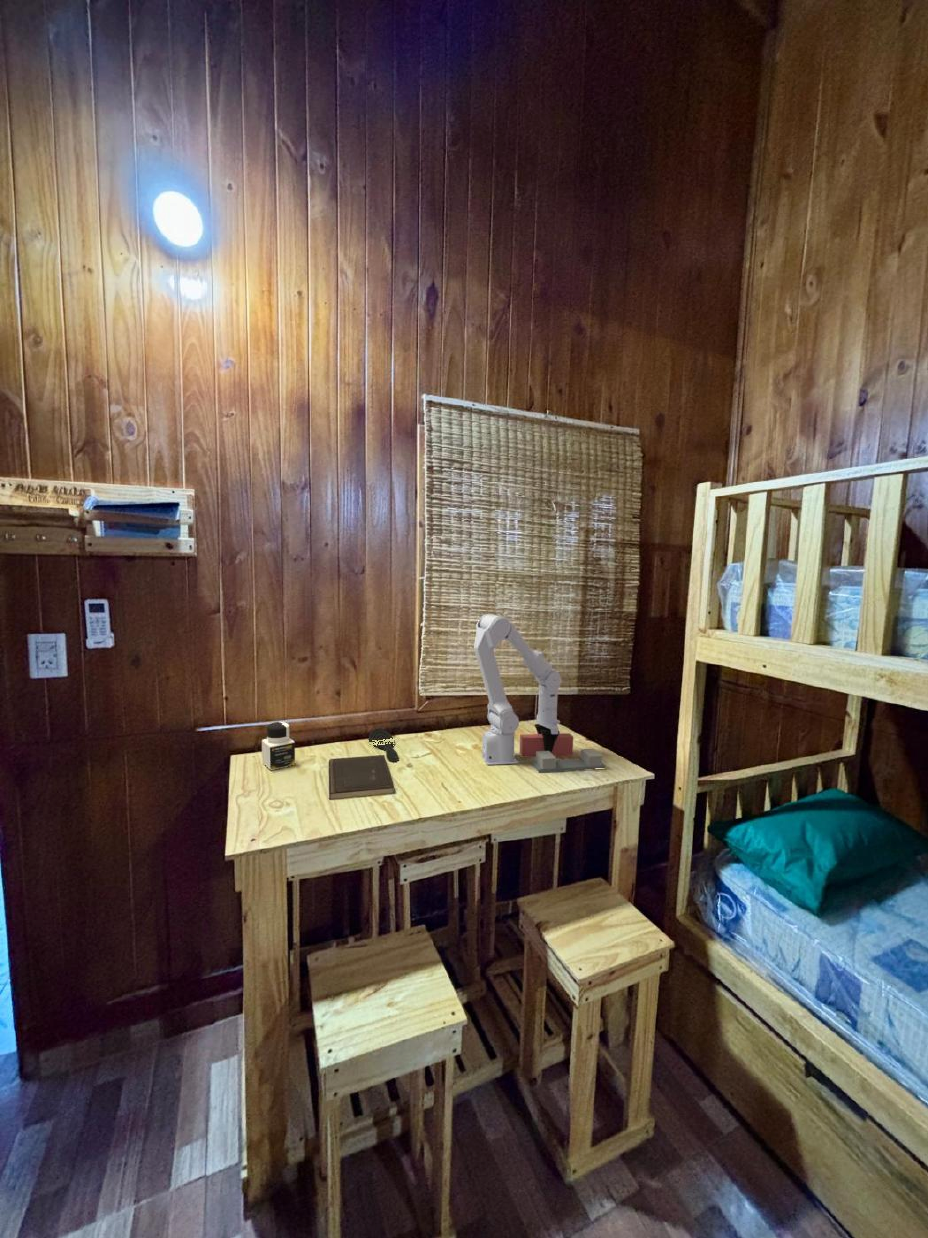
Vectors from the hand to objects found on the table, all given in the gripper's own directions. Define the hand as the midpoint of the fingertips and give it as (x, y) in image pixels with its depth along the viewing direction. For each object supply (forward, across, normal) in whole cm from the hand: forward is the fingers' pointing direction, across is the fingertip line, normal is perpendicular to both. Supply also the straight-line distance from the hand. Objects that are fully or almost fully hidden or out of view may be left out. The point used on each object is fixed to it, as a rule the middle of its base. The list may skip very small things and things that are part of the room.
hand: (546, 749), depth 160 cm
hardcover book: (+2, -11, +57) cm, 58 cm away
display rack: (+1, -11, -3) cm, 11 cm away
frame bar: (+2, 0, 0) cm, 2 cm away
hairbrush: (+2, +11, +49) cm, 51 cm away
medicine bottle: (+2, +2, +80) cm, 80 cm away
